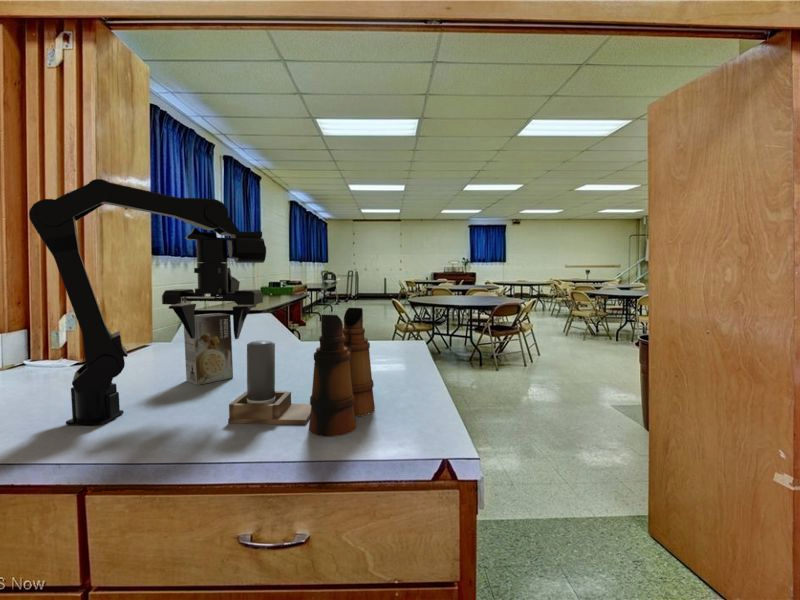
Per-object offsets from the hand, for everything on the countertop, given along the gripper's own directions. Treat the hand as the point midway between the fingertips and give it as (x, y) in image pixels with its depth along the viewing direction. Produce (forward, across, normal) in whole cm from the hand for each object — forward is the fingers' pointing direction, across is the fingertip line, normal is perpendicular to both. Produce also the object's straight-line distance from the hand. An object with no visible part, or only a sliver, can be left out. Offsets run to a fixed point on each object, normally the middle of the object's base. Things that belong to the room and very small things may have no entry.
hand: (214, 338), depth 90 cm
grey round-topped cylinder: (+12, -12, +8) cm, 19 cm away
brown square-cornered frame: (+13, -15, +8) cm, 22 cm away
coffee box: (+13, +9, -16) cm, 23 cm away
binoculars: (+13, -28, +9) cm, 33 cm away
